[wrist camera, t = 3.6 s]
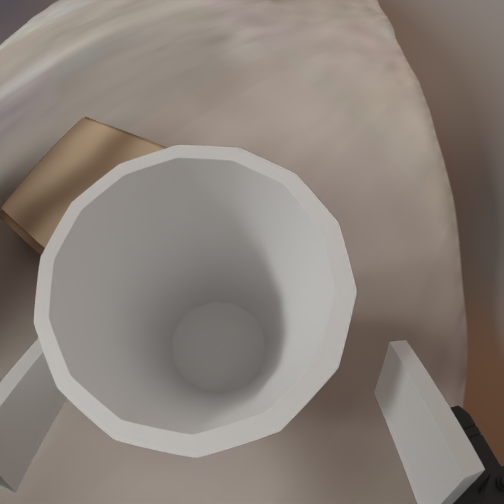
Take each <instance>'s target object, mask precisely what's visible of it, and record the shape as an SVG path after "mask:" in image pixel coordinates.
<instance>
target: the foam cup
mask: <svg viewBox="0 0 504 504" xmlns="http://www.w3.org/2000/svg"><path fill="white" fill-rule="evenodd" d="M356 293H357V290H356V285H355V281H354V277H353V273H352V269H351V266H350V262H349V258H348V254H347V250H346V247H345V243H344V239H343V236H342V232H341V229H340V225H339V222H338V221H337V220H336V219H335V218H334V217H333V215H332V214H331V213H330V212H329V211H328V210H327V208H326V207H325V206H324V205H323V204H322V203H321V202H320V200H319V199H318V198H317V197H316V196H315V195H314V194H313V192H312V191H311V190H310V189H309V188H308V187H307V186H306V185H305V184H304V182H303V181H302V180H301V179H300V178H299V177H298V176H297V175H296V174H295V173H293V172H291V171H289V170H287V169H285V168H282V167H280V166H278V165H276V164H274V163H272V162H269V161H267V160H265V159H263V158H261V157H258V156H256V155H254V154H252V153H249V152H247V151H245V150H243V149H240V148H234V147H217V146H195V145H176V146H172V147H169V148H166V149H163V150H159V151H156V152H153V153H150V154H147V155H144V156H141V157H138V158H135V159H132V160H129V161H126V162H123V163H121V164H119V165H117V166H116V167H115V168H113V169H112V170H111V171H109V172H108V173H107V174H106V175H104V176H103V177H102V178H101V179H99V180H98V181H97V182H96V183H94V184H93V185H92V186H91V187H89V188H88V189H87V190H86V191H84V192H83V193H82V194H81V195H80V196H78V197H77V198H76V199H75V200H74V201H73V202H71V204H70V206H69V207H68V209H67V211H66V212H65V214H64V216H63V217H62V219H61V221H60V222H59V224H58V226H57V228H56V229H55V231H54V233H53V235H52V236H51V238H50V240H49V242H48V244H47V246H46V248H45V249H44V251H43V253H42V255H41V257H40V263H39V271H38V279H37V288H36V298H35V309H34V325H35V329H36V332H37V335H38V338H39V341H40V344H41V347H42V350H43V352H44V355H45V358H46V361H47V363H48V366H49V369H50V371H51V374H52V376H53V379H54V381H55V384H56V386H57V388H58V389H59V390H60V391H61V392H62V393H63V394H64V395H65V396H66V397H67V398H68V399H69V400H70V401H71V402H72V403H73V404H74V405H75V406H76V407H77V408H78V409H79V410H80V411H81V412H83V413H84V414H85V415H86V416H87V417H88V418H89V419H90V420H92V421H93V422H94V423H95V424H96V425H97V426H98V427H100V428H101V429H102V430H103V431H104V432H106V433H107V434H108V435H109V436H110V437H112V438H113V439H114V440H117V441H121V442H124V443H128V444H132V445H136V446H140V447H144V448H148V449H153V450H157V451H162V452H167V453H172V454H177V455H182V456H188V457H194V458H197V457H201V456H205V455H209V454H212V453H216V452H219V451H223V450H226V449H229V448H233V447H236V446H239V445H242V444H245V443H248V442H251V441H254V440H257V439H260V438H263V437H266V436H269V435H271V434H274V433H277V432H280V431H281V430H282V429H283V428H284V427H285V426H286V425H287V424H288V423H289V422H290V421H291V420H292V419H293V418H294V417H295V416H296V415H297V414H298V413H299V411H300V410H301V409H302V408H303V407H304V406H305V405H306V404H307V403H308V402H309V401H310V400H311V399H312V398H313V396H314V395H315V394H316V393H317V392H318V391H319V390H320V389H321V388H322V386H323V385H324V384H325V383H326V382H327V381H328V380H329V379H330V377H331V376H332V375H333V374H334V373H335V372H336V370H337V369H338V368H339V364H340V361H341V357H342V353H343V349H344V345H345V341H346V337H347V333H348V329H349V325H350V321H351V316H352V312H353V307H354V303H355V298H356Z"/></svg>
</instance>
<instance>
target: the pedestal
mask: <svg viewBox="0 0 504 504" xmlns="http://www.w3.org/2000/svg"><path fill="white" fill-rule="evenodd" d="M166 148H167V147H164V146H162V145H159V144H157V143H154V142H152V141H149V140H146V139H144V138H141V137H139V136H136V135H134V134H131V133H128V132H126V131H123V130H120V129H118V128H115V127H112V126H109V125H107V124H104V123H101V122H98V121H96V120H93V119H90V118H87V117H85V118H82V119H81V120H80V121H79V122H78V123H76V124H75V125H74V126H73V127H72V128H71V129H70V130H69V131H68V132H67V133H66V134H65V135H64V136H63V137H62V138H61V139H60V140H59V141H58V142H57V143H56V144H55V145H54V146H53V147H52V148H51V149H50V151H49V152H48V153H47V154H46V155H45V156H44V157H43V158H42V159H41V160H40V161H39V162H38V164H37V165H36V166H35V167H34V168H33V169H32V170H31V172H30V173H29V174H28V175H27V176H26V177H25V179H24V180H23V181H22V182H21V183H20V184H19V186H18V187H17V188H16V189H15V191H14V192H13V193H12V194H11V196H10V197H9V198H8V199H7V201H6V202H5V203H4V205H3V206H2V207H1V208H2V210H1V211H0V217H1V218H2V219H3V220H4V221H5V222H6V223H7V224H8V225H9V226H10V227H11V228H12V229H13V230H14V231H15V232H16V233H17V234H18V235H19V236H20V237H21V238H22V239H23V240H24V241H25V242H27V243H28V244H29V245H30V246H31V247H32V248H33V249H34V250H35V251H36V252H37V253H39V254H40V255H42V253H43V251H44V249H45V248H46V246H47V244H48V242H49V240H50V238H51V236H52V235H53V233H54V231H55V229H56V228H57V226H58V224H59V222H60V221H61V219H62V217H63V216H64V214H65V212H66V211H67V209H68V207H69V206H70V204H71V202H73V201H74V200H75V199H76V198H77V197H78V196H80V195H81V194H82V193H83V192H84V191H86V190H87V189H88V188H89V187H91V186H92V185H93V184H94V183H96V182H97V181H98V180H99V179H101V178H102V177H103V176H104V175H106V174H107V173H108V172H109V171H111V170H112V169H113V168H115V167H116V166H117V165H119V164H121V163H123V162H126V161H129V160H132V159H135V158H138V157H141V156H144V155H147V154H150V153H153V152H156V151H159V150H163V149H166Z"/></svg>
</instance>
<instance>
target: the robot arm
mask: <svg viewBox="0 0 504 504" xmlns="http://www.w3.org/2000/svg"><path fill="white" fill-rule="evenodd" d="M374 394H375V397H376V399H377V401H378V404H379V406H380V409H381V411H382V413H383V416H384V418H385V421H386V423H387V426H388V428H389V431H390V433H391V436H392V438H393V441H394V443H395V446H396V448H397V451H398V453H399V456H400V458H401V461H402V464H403V466H404V469H405V472H406V474H407V477H408V480H409V482H410V485H411V488H412V491H413V493H414V496H415V499H416V502H417V504H504V467H501V466H500V464H499V463H498V461H497V459H496V458H495V456H494V454H493V453H492V451H491V449H490V448H489V446H488V444H487V442H486V441H485V439H484V437H483V436H482V435H481V434H480V431H479V429H478V428H477V427H476V426H475V423H474V421H473V420H472V418H471V416H470V415H469V414H468V413H467V412H466V411H465V410H463V409H462V408H461V407H460V406H455V407H451V408H450V407H449V405H448V404H447V402H446V401H445V399H444V397H443V396H442V394H441V393H440V391H439V389H438V388H437V386H436V385H435V383H434V381H433V380H432V378H431V377H430V375H429V374H428V372H427V371H426V369H425V368H424V366H423V364H422V363H421V361H420V360H419V358H418V357H417V355H416V354H415V352H414V351H413V349H412V348H411V346H410V345H409V344H408V342H407V341H406V340H402V341H390V342H389V345H388V348H387V352H386V355H385V359H384V362H383V366H382V369H381V372H380V375H379V378H378V381H377V385H376V388H375V391H374ZM66 399H67V397H66V396H65V395H64V394H63V393H62V392H61V391H60V390H59V389H58V388H57V386H56V384H55V381H54V379H53V376H52V374H51V371H50V369H49V366H48V363H47V361H46V358H45V355H44V352H43V350H42V347H41V344H40V341H39V338H38V339H37V340H36V341H35V342H34V343H33V344H32V346H31V347H30V348H29V349H28V350H27V351H26V352H25V354H24V355H23V356H22V357H21V358H20V359H19V361H18V362H17V363H16V364H15V365H14V366H13V368H12V369H11V370H10V371H9V372H8V374H7V375H6V376H5V377H4V378H3V380H2V381H1V382H0V485H2V486H4V487H6V488H8V489H10V490H12V491H14V492H16V491H17V489H18V487H19V485H20V483H21V481H22V479H23V477H24V475H25V473H26V471H27V469H28V467H29V465H30V463H31V461H32V459H33V457H34V456H35V454H36V452H37V450H38V448H39V446H40V444H41V443H42V441H43V439H44V437H45V435H46V434H47V432H48V430H49V428H50V426H51V425H52V423H53V421H54V419H55V418H56V416H57V414H58V413H59V411H60V409H61V407H62V406H63V404H64V402H65V401H66Z"/></svg>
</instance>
